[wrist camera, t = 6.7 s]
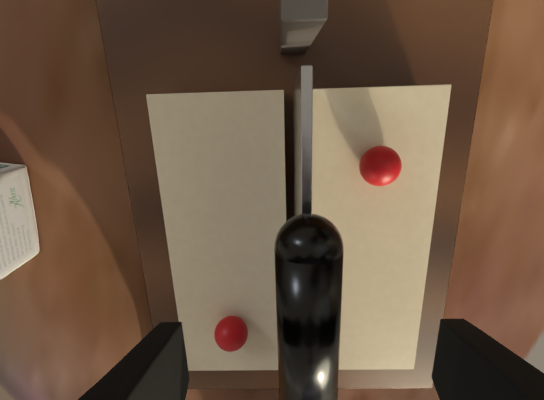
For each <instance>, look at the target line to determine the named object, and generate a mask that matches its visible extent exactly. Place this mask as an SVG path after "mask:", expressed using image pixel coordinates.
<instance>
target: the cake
mask: <svg viewBox="0 0 544 400" xmlns="http://www.w3.org/2000/svg"><path fill="white" fill-rule="evenodd" d="M450 93H451V84H443V85H413V86H383V87H353V88H322V89H313V131H312V214H317V215H320V216H323V217H325V218H326V219H328V220H329V221H331V222H332V223H333V224H334V225H335V226H336V228H337V229H338V231H339V232H340V234H341V237H342V240H343V247H344V253H343V277H342V302H341V326H340V350H339V370H377V369H414V365H415V357H416V350H417V342H418V335H419V327H420V319H421V312H422V304H423V297H424V289H425V282H426V274H427V267H428V259H429V251H430V244H431V236H432V229H433V221H434V214H435V206H436V199H437V191H438V184H439V176H440V168H441V161H442V153H443V146H444V138H445V131H446V123H447V116H448V108H449V100H450ZM146 98H147V105H148V112H149V119H150V126H151V133H152V140H153V147H154V154H155V161H156V168H157V175H158V182H159V189H160V195H161V202H162V209H163V216H164V223H165V230H166V237H167V244H168V251H169V258H170V265H171V272H172V279H173V286H174V293H175V299H176V306H177V313H178V320H179V322H182V328H183V335H184V342H185V350H186V357H187V364H188V371H227V370H278V346H277V315H276V283H275V252H274V247H275V240H276V236H277V233H278V232H279V230H280V228H281V227H282V226H283V225H284V223H285V222H286V178H285V125H284V90H262V91H232V92H202V93H171V94H146Z"/></svg>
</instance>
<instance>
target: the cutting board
mask: <svg viewBox="0 0 544 400" xmlns="http://www.w3.org/2000/svg"><path fill="white" fill-rule="evenodd" d="M96 4H97V10H98V15H99V21H100V27H101V33H102V38H103V44H104V50H105V56H106V61H107V67H108V73H109V78H110V84H111V90H112V96H113V101H114V107H115V113H116V118H117V124H118V130H119V136H120V141H121V147H122V153H123V158H124V164H125V170H126V176H127V181H128V187H129V193H130V198H131V204H132V210H133V216H134V221H135V227H136V233H137V239H138V244H139V250H140V256H141V261H142V267H143V273H144V279H145V284H146V290H147V296H148V301H149V307H150V313H151V319H152V324H153V329H154V328H155V327H156V326H157V325H158V324H159V323H160V322H179V320H178V313H177V306H176V299H175V293H174V286H173V279H172V272H171V265H170V258H169V251H168V244H167V237H166V230H165V223H164V216H163V209H162V202H161V195H160V189H159V182H158V175H157V168H156V161H155V154H154V147H153V140H152V133H151V126H150V119H149V112H148V105H147V98H146V94H171V93H202V92H232V91H262V90H284V125H285V178H286V222H287V221H288V220H289V219H291V218H292V217H294V122H293V75H294V74H295V73H296V72H297V70H298V69H299V68H300V66H302V65H313V89H322V88H353V87H383V86H413V85H443V84H451V93H450V100H449V108H448V116H447V123H446V131H445V138H444V146H443V153H442V161H441V168H440V176H439V184H438V191H437V199H436V206H435V214H434V221H433V229H432V236H431V244H430V251H429V259H428V267H427V274H426V282H425V289H424V297H423V304H422V312H421V319H420V327H419V335H418V342H417V350H416V357H415V365H414V369H377V370H339V374H338V388H432V386H433V380H432V371H433V364H434V358H435V351H436V345H437V339H438V332H439V326H440V319H443V316H444V310H445V304H446V297H447V291H448V285H449V278H450V272H451V266H452V259H453V253H454V247H455V240H456V234H457V228H458V221H459V215H460V209H461V202H462V196H463V190H464V183H465V177H466V171H467V164H468V158H469V152H470V145H471V139H472V133H473V126H474V120H475V114H476V107H477V101H478V95H479V89H480V82H481V76H482V70H483V63H484V57H485V51H486V44H487V38H488V32H489V25H490V19H491V13H492V6H493V0H96ZM189 378H190V379H189V384H188V389H279V377H278V370H227V371H189Z"/></svg>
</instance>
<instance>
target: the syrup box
mask: <svg viewBox="0 0 544 400" xmlns="http://www.w3.org/2000/svg"><path fill="white" fill-rule="evenodd" d="M39 251H40V248H39V239H38V230H37V223H36V218H35V211H34V206H33V200H32V194H31V189H30V183H29V177H28V172H27V167H26V165H22V164H11V163H2V162H0V280H1V279H3V278H4V277H5V276H7V275H8V274H10V273H11V272H12V271H14V270H16V269H17V268H19V267H20V266H21V265H23V264H24V263H26V262H27V261H29V260H30V259H32V258H33V257H34V256H36V255H37V254H38V253H39Z"/></svg>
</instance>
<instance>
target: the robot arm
mask: <svg viewBox="0 0 544 400" xmlns="http://www.w3.org/2000/svg"><path fill="white" fill-rule="evenodd" d="M189 379H190V378H189V371H188V364H187V357H186V350H185V342H184V335H183V328H182V322H160V323H159V324H158V325H157V326H156V327H155V328H154V329H153V330H152V331H151V332H150V333H148V334H147V335H146V336H145V337H144V338H143V339H142V340H141V341H140V342H139V343H138V344H137V345H136V346H135V347H134V348H133V349H132V350H131V351H130V352H129V353H128V354H127V355H126V356H125V357H124V358H123V359H122V360H121V361H120V362H119V363H117V364H116V365H115V366H114V367H113V368H112V369H111V370H110V371H109V372H108V373H107V374H106V375H105V376H104V377H103V378H102V379H101V380H99V381H98V382H97V383H96V384H95V385H94V386H93V387H92V388H90V389H89V390H88V391H87V392H86V393H85V394H84V395H82V396H81V397H80V398H79V399H78V400H185V398H186V393H187V389H188V384H189ZM432 380H433V383H434V385H435V388H436V390H437V393H438V396H439V398H440V400H544V373H542V372H541V371H539V370H538V369H536V368H535V367H534V366H532V365H531V364H529V363H528V362H526V361H525V360H523V359H522V358H520V357H519V356H518V355H516V354H515V353H513V352H512V351H510V350H509V349H507V348H506V347H505V346H503V345H502V344H500V343H499V342H497V341H496V340H494V339H493V338H492V337H490V336H489V335H487V334H486V333H484V332H483V331H481V330H480V329H478V328H477V327H475V326H474V325H472V324H471V323H469V322H468V321H466V320H464V319H440V326H439V332H438V339H437V345H436V351H435V358H434V364H433V371H432Z"/></svg>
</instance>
